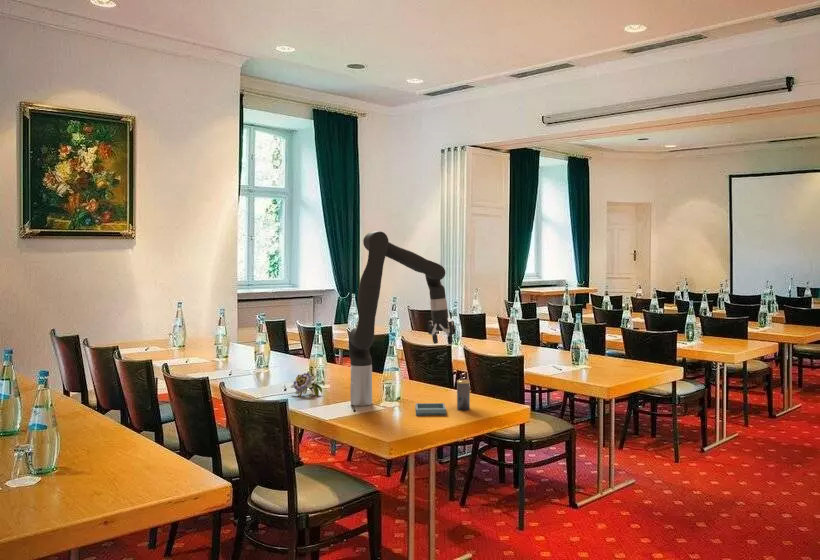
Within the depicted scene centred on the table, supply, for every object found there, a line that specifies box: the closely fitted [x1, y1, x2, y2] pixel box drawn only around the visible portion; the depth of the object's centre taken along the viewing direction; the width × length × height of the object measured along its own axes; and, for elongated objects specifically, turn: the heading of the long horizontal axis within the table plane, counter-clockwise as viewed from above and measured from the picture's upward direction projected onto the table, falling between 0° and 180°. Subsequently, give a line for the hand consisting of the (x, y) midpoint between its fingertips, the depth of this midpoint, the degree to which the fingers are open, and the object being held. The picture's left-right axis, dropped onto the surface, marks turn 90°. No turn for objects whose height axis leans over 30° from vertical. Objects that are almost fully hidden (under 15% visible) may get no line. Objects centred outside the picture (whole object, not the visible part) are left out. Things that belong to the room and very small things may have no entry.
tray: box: [414, 402, 447, 417], centre depth 296 cm, size 12×12×2 cm
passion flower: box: [290, 370, 325, 398], centre depth 335 cm, size 13×12×14 cm
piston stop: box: [456, 379, 471, 412], centre depth 301 cm, size 5×5×12 cm
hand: (443, 343), depth 327 cm, fingers open, 8 cm apart
